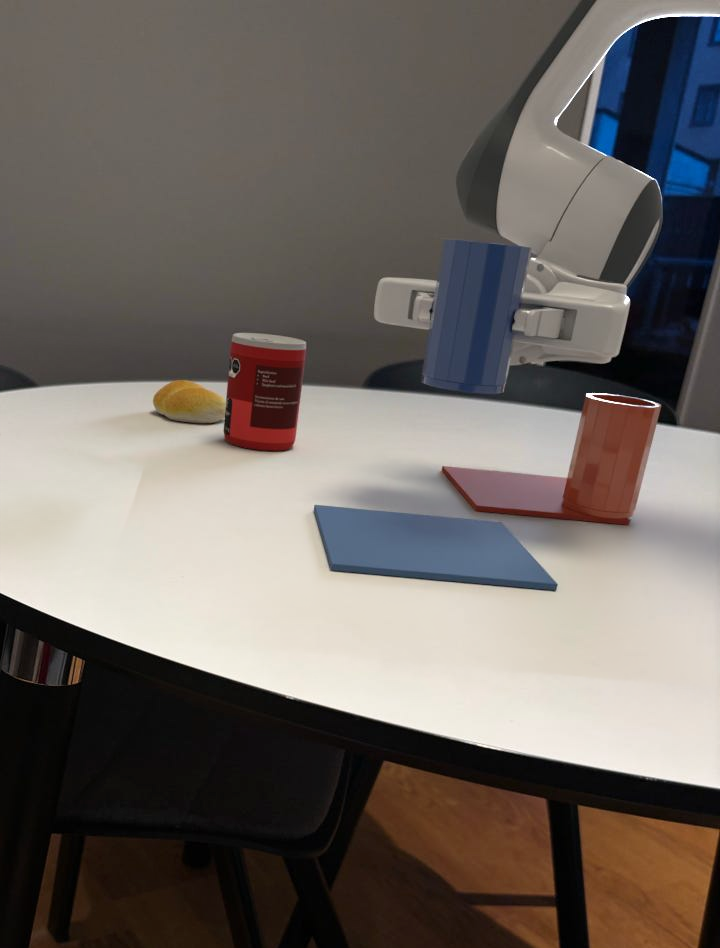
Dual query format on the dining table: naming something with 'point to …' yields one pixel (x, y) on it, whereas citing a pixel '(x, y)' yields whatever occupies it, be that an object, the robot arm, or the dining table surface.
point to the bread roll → (189, 403)
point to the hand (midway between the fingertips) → (472, 316)
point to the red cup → (610, 455)
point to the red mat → (517, 494)
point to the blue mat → (427, 548)
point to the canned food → (264, 391)
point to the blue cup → (474, 315)
